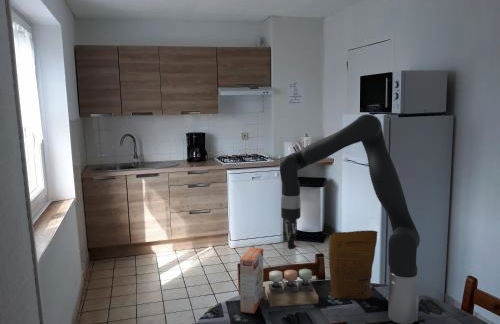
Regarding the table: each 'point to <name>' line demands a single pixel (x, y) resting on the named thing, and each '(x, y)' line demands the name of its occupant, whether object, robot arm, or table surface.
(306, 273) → the pale green ball
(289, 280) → the peach ball
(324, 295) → the table surface
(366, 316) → the table surface
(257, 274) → the cracker box
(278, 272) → the white round piece
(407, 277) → the robot arm
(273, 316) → the table surface
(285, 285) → the tan slotted panel
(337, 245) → the pancake mix bag
